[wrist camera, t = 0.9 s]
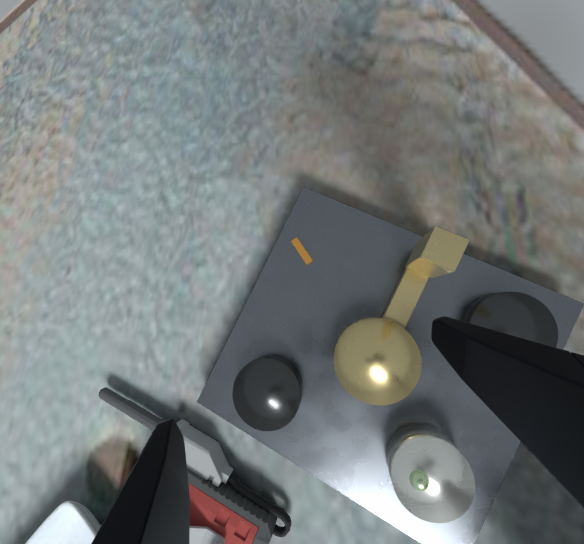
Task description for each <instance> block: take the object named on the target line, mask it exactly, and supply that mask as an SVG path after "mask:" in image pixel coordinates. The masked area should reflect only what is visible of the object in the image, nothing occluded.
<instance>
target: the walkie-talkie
mask: <svg viewBox="0 0 584 544" xmlns="http://www.w3.org/2000/svg"><path fill="white" fill-rule="evenodd" d="M99 397H100V398H101V399H102V400H104V401H105V402H107V403H109V404H110V405H112V406H114V407H115V408H117V409H118V410H120V411H122V412H123V413H125V414H127V415H128V416H130V417H131V418H133V419H135V420H136V421H138V422H140V423H141V424H143V425H144V426H146V427H148V428H149V429H151V430H153V431H154V429H155V427H156V425H157V424H158V423H159V422H162V421H164V420H161V419H160V418H158V417H157V416H155V415H153V414H152V413H150V412H148V411H147V410H145V409H143V408H142V407H140V406H138V405H137V404H135V403H134V402H132V401H130V400H127V399H125V398H124V397H122V396H120V395H118V394H117V393H115V392H113V391H112V390H110V389H108V388H103V389H101V390H100V392H99ZM165 420H166V419H165ZM176 424H177V425H178V427H179V429H180V431H181V433H182V435H183V438H184V443H185V453H186V463H187V473H188V484H189V496H190V531H189V544H269V542H270V539H271V537H272V534H274V535H276V536H278V537H284V536H286V535H287V533H288V532H289V531H290V527H291V519H290V516H289V515H288V514H287V513H286V512H285V511H284V510H283V509H281V508H279V507H278V506H276V505H275V503H274V502H273V503H272V502H271V501H270V499H266V498H264V496H263V495H262V496H261V495H259V494H258V492H254V491H253V489H252V488H251V489H249V488H248V487H247V485H243V484H241V482H239V480H238V479H237V477H236V476H235V475H234V474H232V472H233V468H231V467H230V466H229V464H228V461H227V459H226V457H225V455H224V452H223V450H222V448H221V446H220V444H219V442H217V441H216V440H214V439H212V438H211V437H209V436H207V435H206V434H204V433H202V432H201V431H199V430H197V429H196V428H194V427H192V426H191V425H190V424H189V422H187V421H185V420H184V419H181V420H180V421H178V422H177V423H176ZM277 517H278V518H280V519H281V520H282V521H283V522H284V523H285V526H284V527H280V526H278V525H276V520H277Z"/></svg>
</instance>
